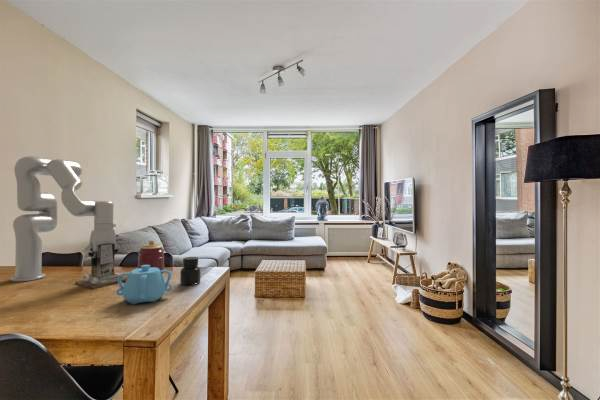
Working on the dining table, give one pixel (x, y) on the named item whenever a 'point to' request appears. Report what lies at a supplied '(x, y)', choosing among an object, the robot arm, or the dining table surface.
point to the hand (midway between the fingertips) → (102, 264)
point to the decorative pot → (144, 285)
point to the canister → (151, 255)
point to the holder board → (99, 281)
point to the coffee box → (104, 261)
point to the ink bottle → (190, 271)
